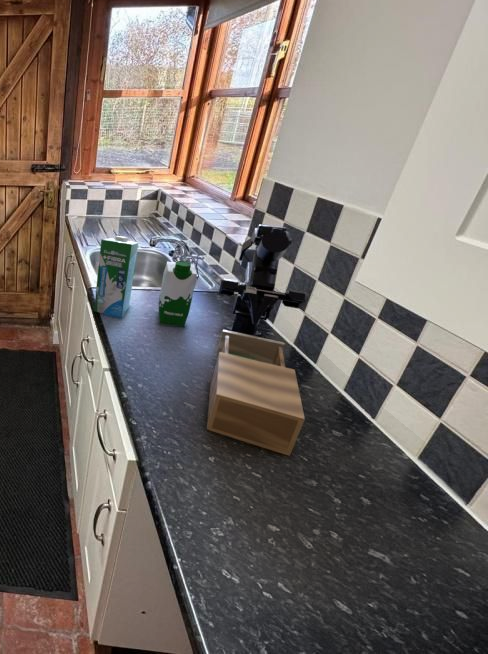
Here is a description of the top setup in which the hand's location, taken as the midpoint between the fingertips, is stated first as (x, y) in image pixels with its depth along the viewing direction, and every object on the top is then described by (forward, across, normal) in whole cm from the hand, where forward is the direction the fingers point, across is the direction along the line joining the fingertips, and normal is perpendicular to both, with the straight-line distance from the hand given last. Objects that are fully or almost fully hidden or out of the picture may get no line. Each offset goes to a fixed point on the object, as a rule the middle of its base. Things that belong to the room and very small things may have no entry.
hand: (254, 323), depth 103 cm
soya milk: (-1, +20, -17) cm, 26 cm away
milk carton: (0, +38, -16) cm, 41 cm away
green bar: (+11, 0, -1) cm, 11 cm away
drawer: (+14, 0, 0) cm, 14 cm away
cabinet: (+24, 0, +9) cm, 26 cm away
